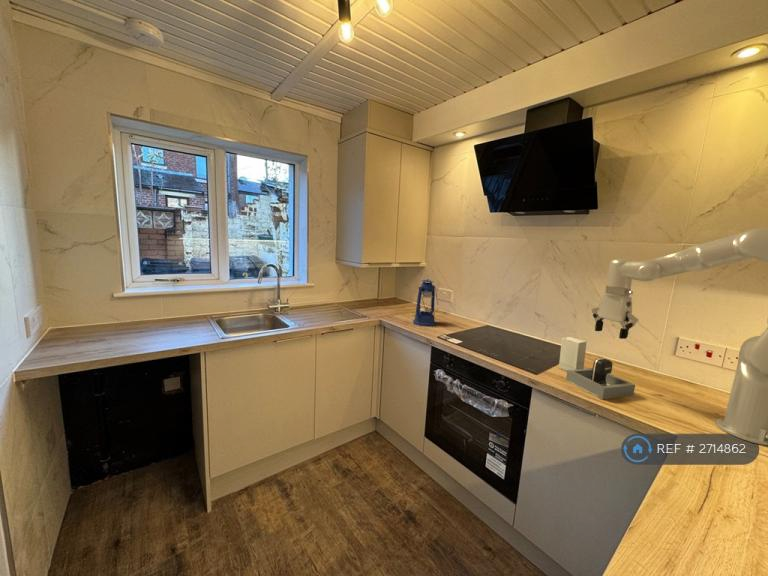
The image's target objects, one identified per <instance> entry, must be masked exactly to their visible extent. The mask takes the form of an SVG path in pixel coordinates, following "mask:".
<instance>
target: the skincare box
mask: <svg viewBox="0 0 768 576" xmlns="http://www.w3.org/2000/svg"><path fill="white" fill-rule="evenodd" d="M587 342H588V341H586V340H584V339H579V338H576V337H571V336H567V337H566V336H565V337H562V338H561V342H560V343H561V345H560V351H559V353H560V354H559V362H558V363H559V364H558V369H560V370H563V371H565V372H567V370H576V369H585V361H586V352H587Z"/></svg>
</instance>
